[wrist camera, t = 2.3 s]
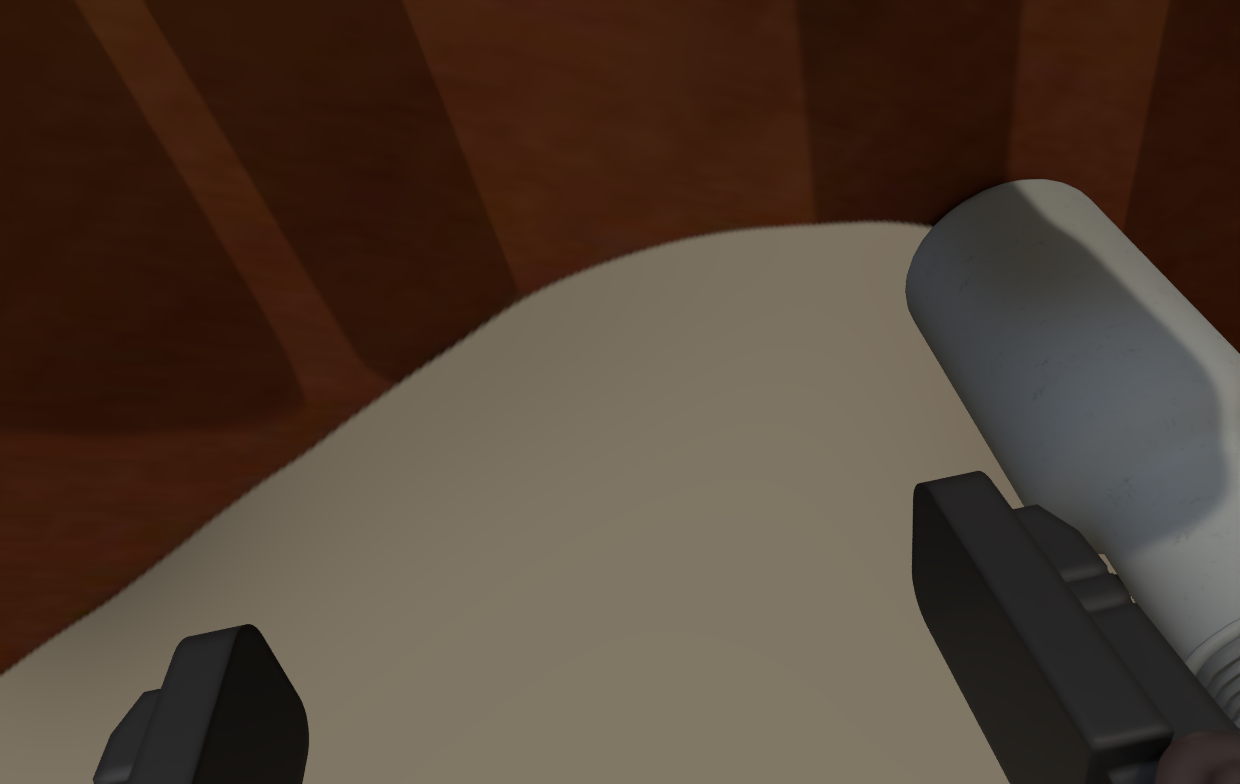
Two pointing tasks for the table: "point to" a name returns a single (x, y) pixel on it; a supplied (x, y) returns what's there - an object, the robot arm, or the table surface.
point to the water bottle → (1098, 400)
